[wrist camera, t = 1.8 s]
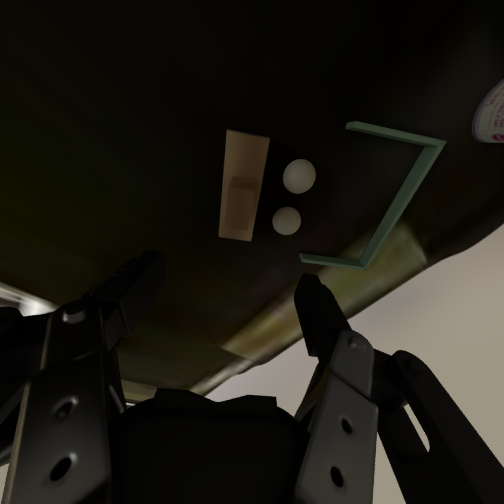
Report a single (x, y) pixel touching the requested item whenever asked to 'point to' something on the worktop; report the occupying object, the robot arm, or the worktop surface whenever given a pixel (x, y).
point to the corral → (401, 199)
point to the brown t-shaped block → (241, 183)
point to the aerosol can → (490, 116)
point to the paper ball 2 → (286, 220)
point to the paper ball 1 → (299, 176)
